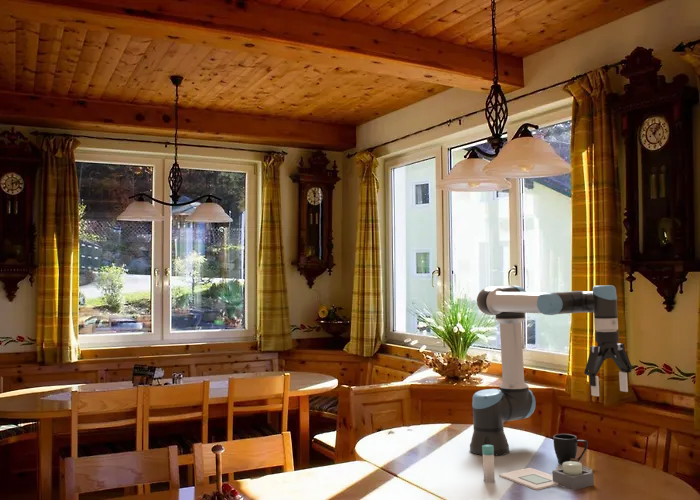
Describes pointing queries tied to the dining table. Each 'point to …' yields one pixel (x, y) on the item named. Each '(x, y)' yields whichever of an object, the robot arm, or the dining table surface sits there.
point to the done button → (572, 468)
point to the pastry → (579, 462)
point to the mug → (567, 447)
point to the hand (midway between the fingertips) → (609, 393)
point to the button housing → (573, 479)
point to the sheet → (531, 478)
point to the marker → (488, 463)
